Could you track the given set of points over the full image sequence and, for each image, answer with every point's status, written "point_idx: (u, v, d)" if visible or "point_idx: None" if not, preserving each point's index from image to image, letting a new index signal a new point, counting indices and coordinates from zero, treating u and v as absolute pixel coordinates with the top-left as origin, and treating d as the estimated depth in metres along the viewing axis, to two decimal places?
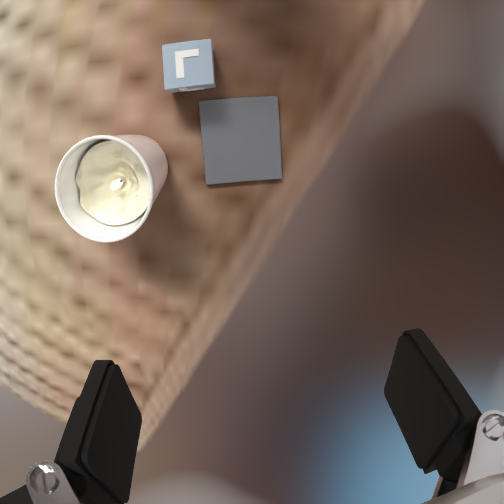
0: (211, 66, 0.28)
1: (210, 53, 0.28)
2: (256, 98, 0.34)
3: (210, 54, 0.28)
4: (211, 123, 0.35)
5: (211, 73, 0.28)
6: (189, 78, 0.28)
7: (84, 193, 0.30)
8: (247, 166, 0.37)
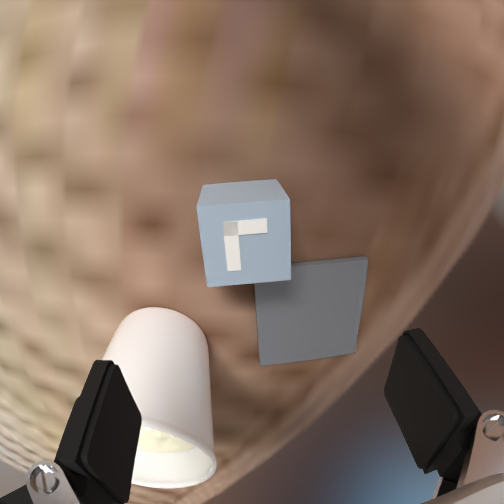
0: (288, 251, 0.18)
1: (288, 228, 0.18)
2: (339, 264, 0.24)
3: (288, 230, 0.18)
4: (272, 300, 0.25)
5: (288, 263, 0.19)
6: (250, 271, 0.19)
7: None
8: (315, 345, 0.28)
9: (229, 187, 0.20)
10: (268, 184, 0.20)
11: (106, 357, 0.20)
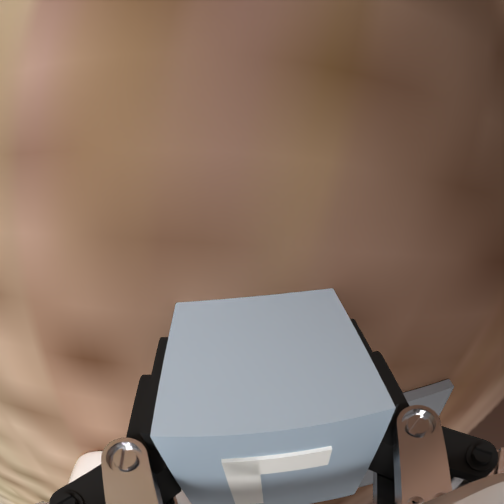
0: (362, 472, 0.07)
1: (373, 448, 0.06)
2: (413, 402, 0.12)
3: (372, 451, 0.06)
4: None
5: (355, 483, 0.07)
6: (280, 500, 0.07)
7: None
8: None
9: (233, 326, 0.09)
10: (322, 317, 0.09)
11: None
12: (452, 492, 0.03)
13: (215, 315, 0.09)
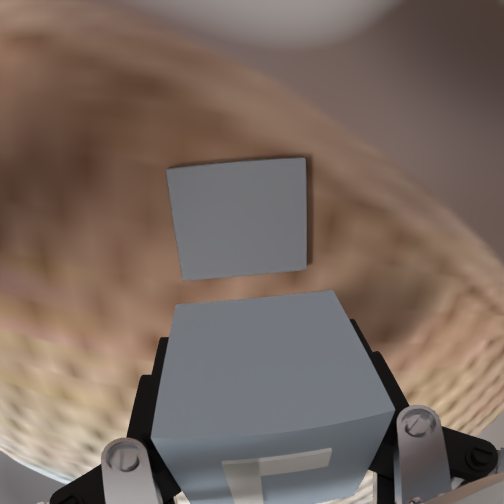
0: (362, 473, 0.07)
1: (373, 450, 0.06)
2: (173, 202, 0.23)
3: (372, 452, 0.06)
4: (216, 263, 0.25)
5: (355, 484, 0.07)
6: (280, 501, 0.07)
7: None
8: (283, 212, 0.24)
9: (233, 328, 0.09)
10: (322, 319, 0.09)
11: None
12: (452, 492, 0.03)
13: (215, 317, 0.09)
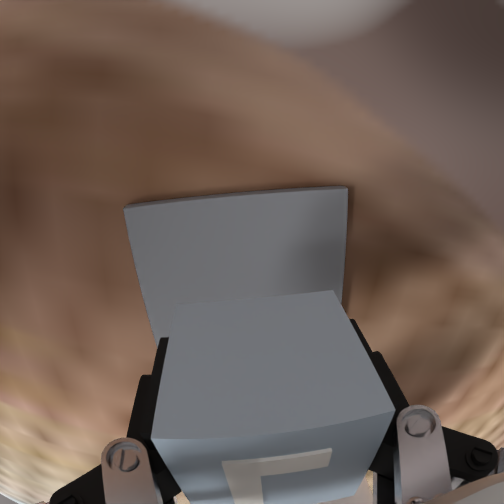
0: (362, 474, 0.07)
1: (373, 450, 0.06)
2: (137, 258, 0.14)
3: (372, 452, 0.06)
4: None
5: (355, 484, 0.07)
6: (280, 501, 0.07)
7: None
8: (310, 271, 0.15)
9: (233, 328, 0.09)
10: (322, 319, 0.09)
11: None
12: (452, 492, 0.03)
13: (215, 317, 0.09)
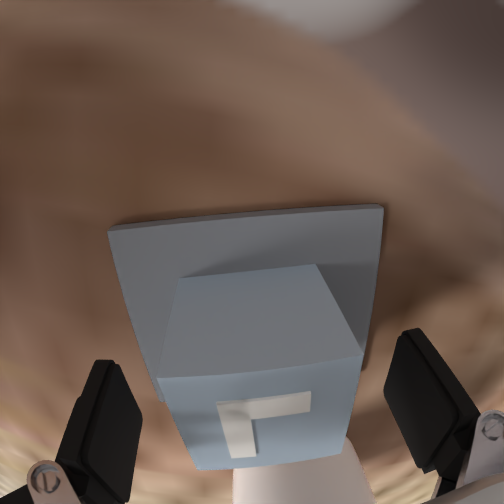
0: (344, 426, 0.08)
1: (350, 398, 0.08)
2: (127, 290, 0.12)
3: (350, 401, 0.08)
4: None
5: (340, 439, 0.09)
6: (272, 454, 0.09)
7: None
8: None
9: (228, 294, 0.10)
10: (304, 286, 0.10)
11: None
12: (452, 492, 0.03)
13: (213, 286, 0.11)
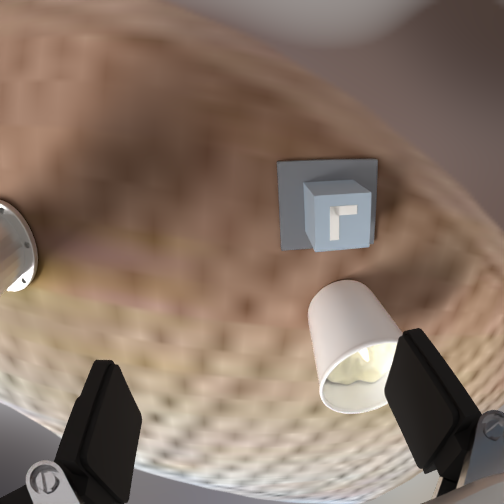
0: (369, 227, 0.27)
1: (369, 211, 0.26)
2: (281, 187, 0.30)
3: (369, 212, 0.26)
4: None
5: (368, 235, 0.27)
6: (344, 240, 0.27)
7: (361, 375, 0.32)
8: None
9: (325, 184, 0.29)
10: (350, 183, 0.29)
11: None
12: (452, 492, 0.03)
13: (318, 183, 0.29)
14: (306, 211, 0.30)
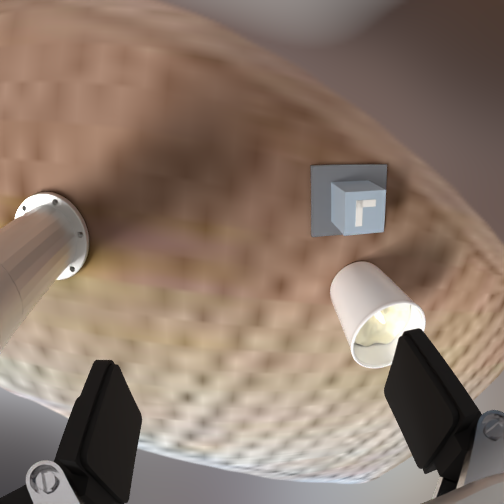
0: (383, 216, 0.34)
1: (384, 204, 0.34)
2: (314, 186, 0.38)
3: (384, 205, 0.34)
4: (333, 225, 0.40)
5: (383, 223, 0.35)
6: (365, 226, 0.35)
7: (377, 339, 0.39)
8: None
9: (348, 184, 0.36)
10: (367, 183, 0.36)
11: None
12: (452, 492, 0.03)
13: (343, 183, 0.37)
14: (333, 205, 0.38)
